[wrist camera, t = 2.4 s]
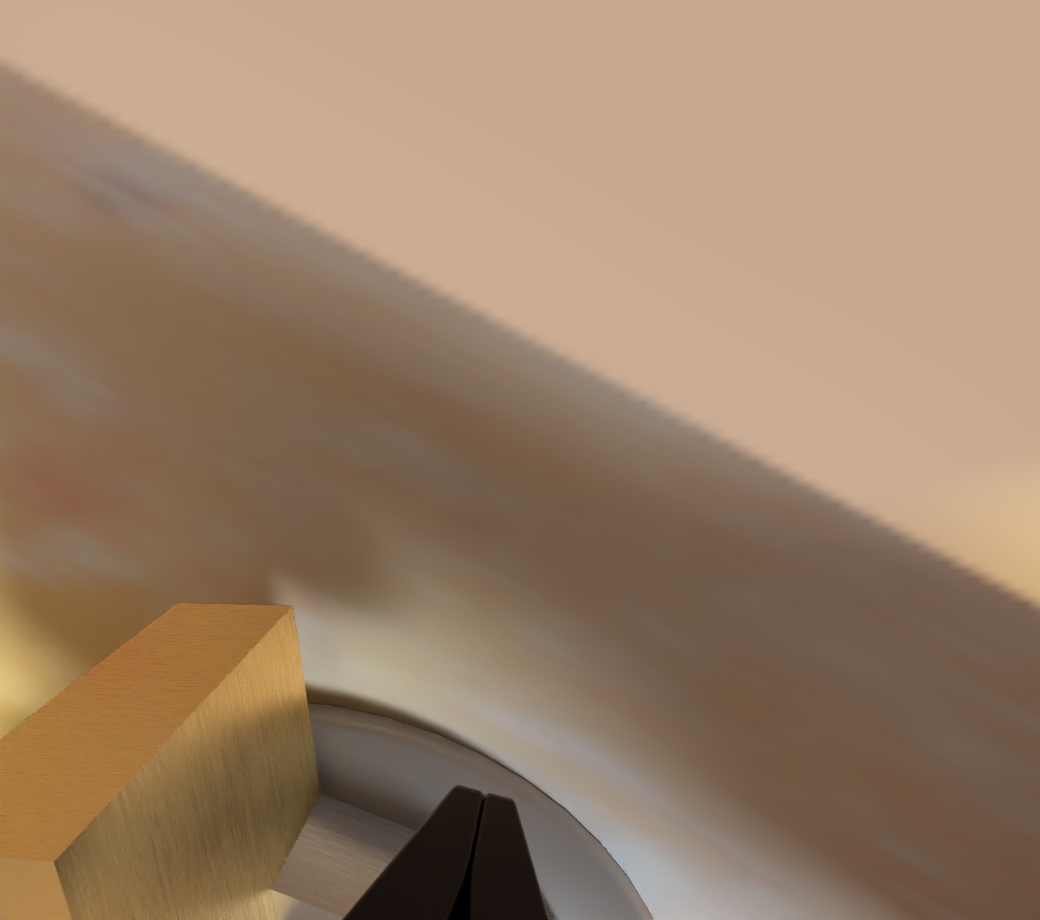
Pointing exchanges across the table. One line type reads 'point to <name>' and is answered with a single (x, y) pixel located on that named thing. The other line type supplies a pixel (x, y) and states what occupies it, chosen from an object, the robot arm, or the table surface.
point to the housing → (443, 764)
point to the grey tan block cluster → (183, 786)
